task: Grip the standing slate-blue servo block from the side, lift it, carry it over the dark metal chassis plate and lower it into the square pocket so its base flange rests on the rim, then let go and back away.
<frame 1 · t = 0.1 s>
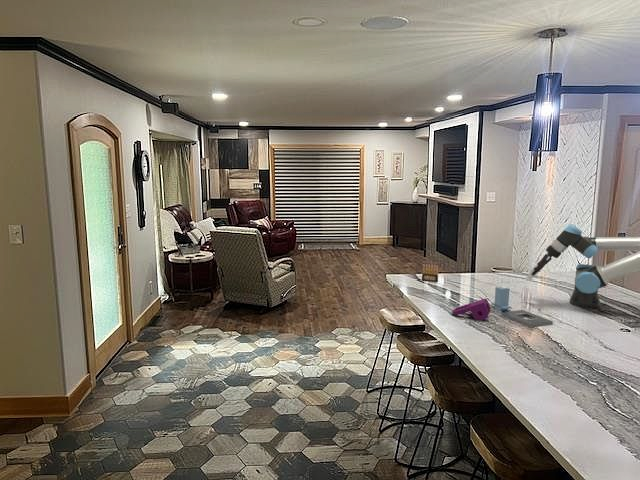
hand: (529, 276, 270), 15 cm above the kitchen island, tool tilted 35°, fingers open, 13 cm apart
servo: (501, 309, 259), on the kitchen island
ammunition clip: (429, 281, 321), on the kitchen island
chassis plate: (526, 319, 241), on the kitchen island
mounting bracket: (470, 317, 246), on the kitchen island
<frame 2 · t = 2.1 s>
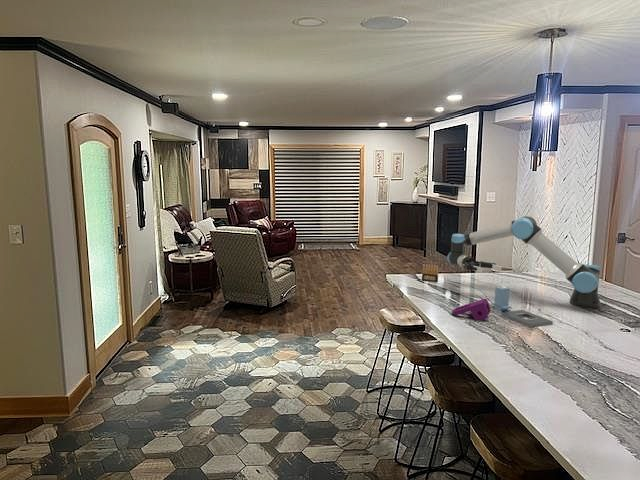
hand: (491, 269, 265), 20 cm above the kitchen island, tool horizontal, fingers open, 13 cm apart
nothing on the kitchen island moved.
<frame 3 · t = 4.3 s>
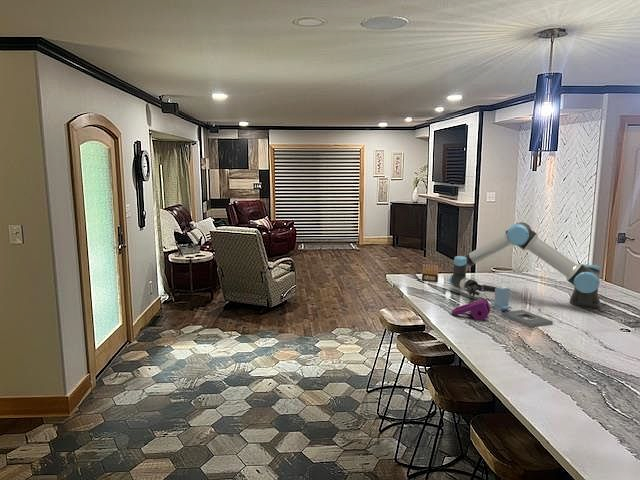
hand: (493, 294, 263), 7 cm above the kitchen island, tool horizontal, fingers open, 13 cm apart
nothing on the kitchen island moved.
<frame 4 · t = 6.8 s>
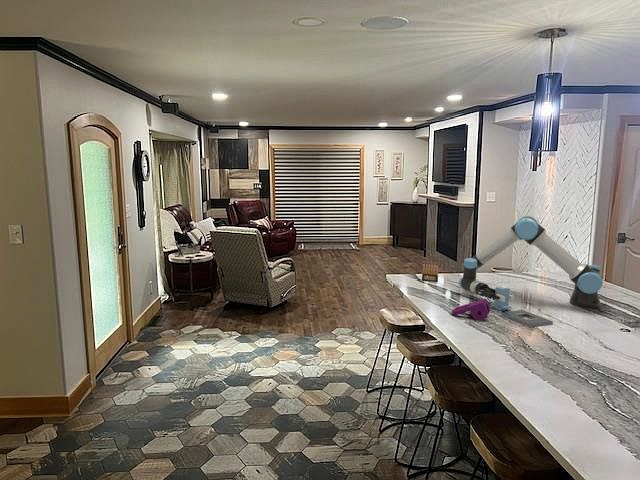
hand: (508, 299, 253), 7 cm above the kitchen island, tool horizontal, fingers closed on servo, 5 cm apart
servo: (501, 309, 259), on the kitchen island, touching gripper
everything else where it was.
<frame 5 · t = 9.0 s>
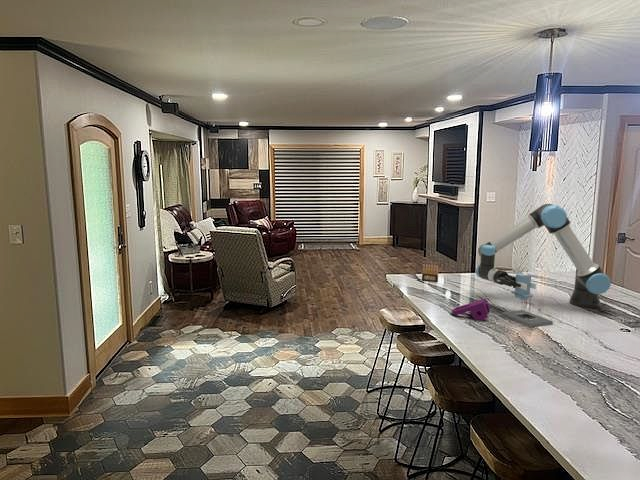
hand: (530, 286, 236), 18 cm above the kitchen island, tool horizontal, fingers closed on servo, 5 cm apart
servo: (521, 297, 242), point 11 cm above the kitchen island, touching gripper
everything else where it was.
when the fingers open (8 cm above the kitchen island, at t = 11.4 s): servo stays where it is, resting on chassis plate.
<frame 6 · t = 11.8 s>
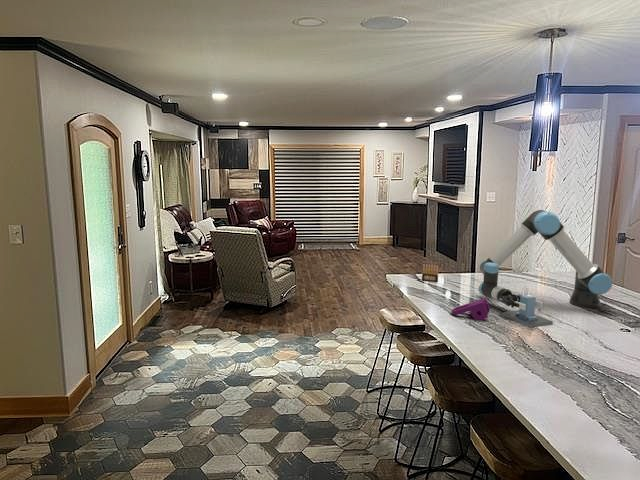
hand: (533, 306, 236), 8 cm above the kitchen island, tool horizontal, fingers open, 10 cm apart
servo: (526, 319, 241), resting on chassis plate
everything else where it was.
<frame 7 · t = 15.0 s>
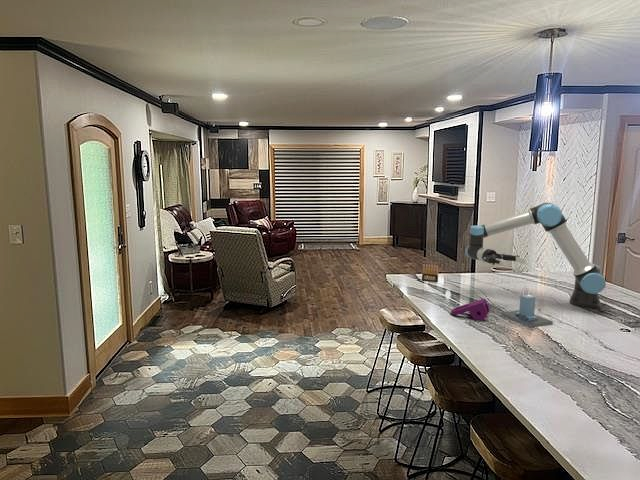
hand: (515, 262, 246), 28 cm above the kitchen island, tool horizontal, fingers open, 13 cm apart
nothing on the kitchen island moved.
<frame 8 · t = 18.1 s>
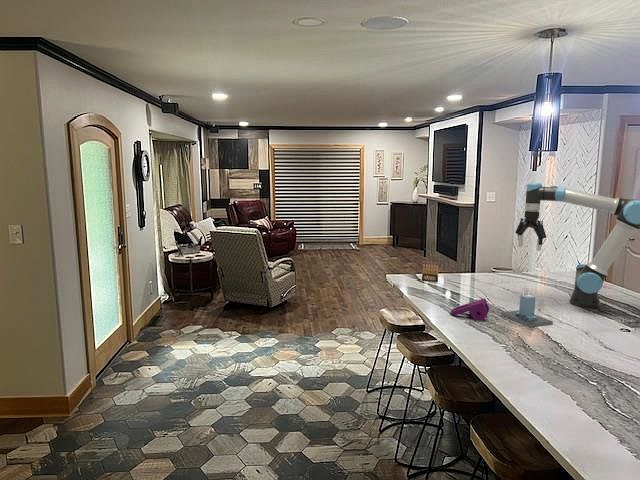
hand: (529, 248, 267), 32 cm above the kitchen island, tool pointing down, fingers open, 13 cm apart
nothing on the kitchen island moved.
at the end: servo 0.0 cm off-centre on the chassis plate, point 0.2 cm above the chassis plate's base; servo tilted 0°; the gripper is holding nothing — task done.
